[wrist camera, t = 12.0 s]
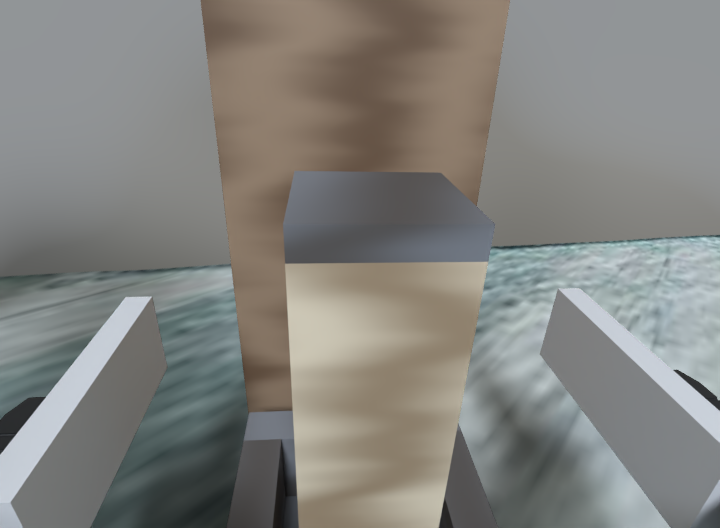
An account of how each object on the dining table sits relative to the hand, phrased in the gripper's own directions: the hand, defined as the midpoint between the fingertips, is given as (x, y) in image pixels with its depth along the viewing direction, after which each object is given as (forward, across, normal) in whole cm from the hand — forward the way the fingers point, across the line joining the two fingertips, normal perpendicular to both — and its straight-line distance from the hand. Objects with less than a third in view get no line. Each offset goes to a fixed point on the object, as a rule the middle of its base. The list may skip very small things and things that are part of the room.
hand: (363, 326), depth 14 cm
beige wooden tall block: (-2, 0, -10) cm, 10 cm away
